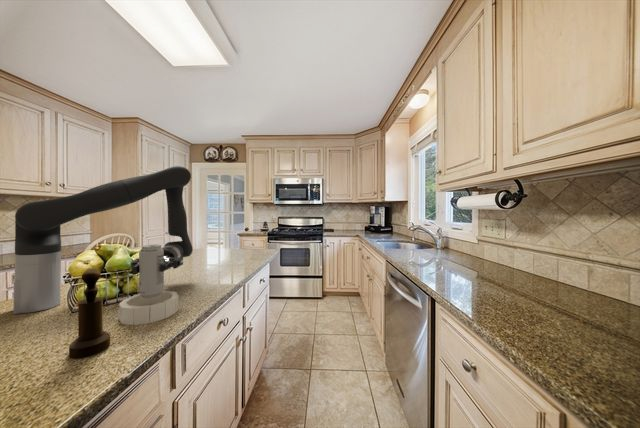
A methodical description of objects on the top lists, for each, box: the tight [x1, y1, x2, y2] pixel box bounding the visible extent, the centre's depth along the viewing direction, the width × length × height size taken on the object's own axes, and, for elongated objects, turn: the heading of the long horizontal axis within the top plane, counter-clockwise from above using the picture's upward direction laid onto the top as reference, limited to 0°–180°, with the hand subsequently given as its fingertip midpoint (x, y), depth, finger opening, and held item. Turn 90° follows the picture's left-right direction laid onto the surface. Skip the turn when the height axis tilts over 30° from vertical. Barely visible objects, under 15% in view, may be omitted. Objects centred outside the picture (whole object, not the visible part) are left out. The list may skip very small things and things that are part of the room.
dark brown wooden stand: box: [68, 268, 111, 360], centre depth 52 cm, size 7×6×18 cm
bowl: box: [118, 290, 179, 326], centre depth 70 cm, size 14×14×4 cm
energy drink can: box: [138, 244, 165, 298], centre depth 70 cm, size 6×6×15 cm
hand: (148, 269), depth 68 cm, fingers closed on energy drink can, 6 cm apart
